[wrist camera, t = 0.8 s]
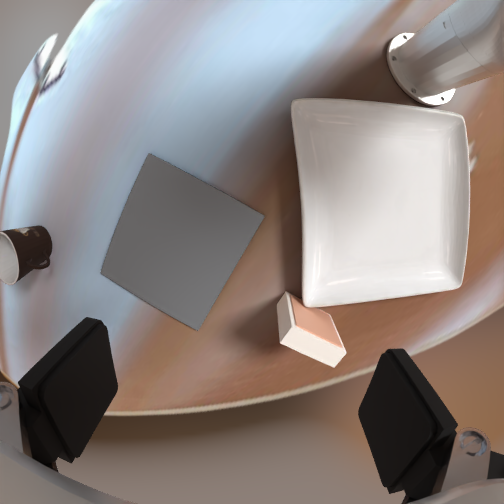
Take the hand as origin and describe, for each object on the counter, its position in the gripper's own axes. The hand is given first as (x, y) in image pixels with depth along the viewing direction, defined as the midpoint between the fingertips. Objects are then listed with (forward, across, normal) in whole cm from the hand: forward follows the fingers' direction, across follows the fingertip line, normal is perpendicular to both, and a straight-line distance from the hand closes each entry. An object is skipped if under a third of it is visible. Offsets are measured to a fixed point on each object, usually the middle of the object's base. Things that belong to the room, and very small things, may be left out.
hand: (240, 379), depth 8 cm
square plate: (+30, -18, -6) cm, 36 cm away
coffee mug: (+31, +36, +7) cm, 48 cm away
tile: (+30, -8, +12) cm, 33 cm away
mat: (+30, +11, +4) cm, 33 cm away
